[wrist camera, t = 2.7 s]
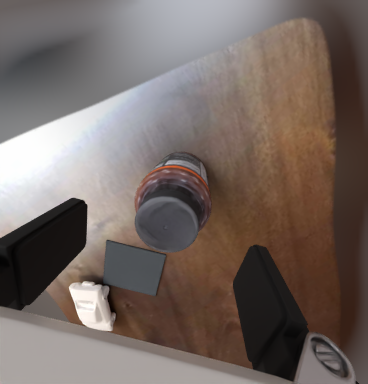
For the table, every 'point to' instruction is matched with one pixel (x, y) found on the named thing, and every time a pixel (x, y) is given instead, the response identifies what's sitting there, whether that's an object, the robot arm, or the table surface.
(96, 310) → the toy car
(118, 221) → the table surface
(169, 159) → the supplement bottle
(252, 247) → the robot arm
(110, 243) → the mat
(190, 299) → the table surface
